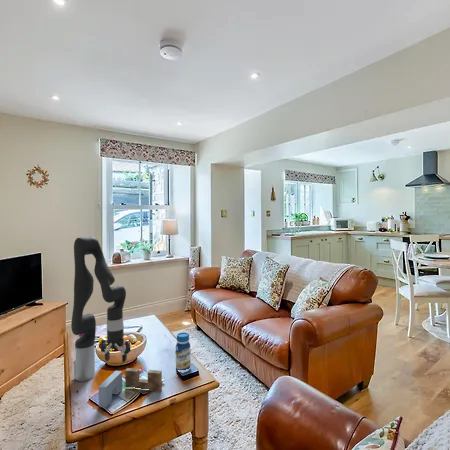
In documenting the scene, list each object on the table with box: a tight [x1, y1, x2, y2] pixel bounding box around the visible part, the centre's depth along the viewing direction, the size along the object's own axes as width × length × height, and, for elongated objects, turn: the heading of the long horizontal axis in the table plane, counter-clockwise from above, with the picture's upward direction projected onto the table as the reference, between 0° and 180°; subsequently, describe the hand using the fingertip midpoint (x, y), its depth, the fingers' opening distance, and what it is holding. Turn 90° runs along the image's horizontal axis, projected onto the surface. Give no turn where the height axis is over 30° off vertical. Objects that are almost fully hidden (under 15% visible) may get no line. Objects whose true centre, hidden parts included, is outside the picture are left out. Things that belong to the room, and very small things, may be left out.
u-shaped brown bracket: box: [124, 367, 163, 393], centre depth 142 cm, size 18×2×9 cm, turn 81°
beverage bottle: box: [175, 331, 192, 371], centre depth 159 cm, size 8×8×20 cm
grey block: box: [98, 370, 123, 408], centre depth 135 cm, size 4×14×9 cm, turn 170°
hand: (115, 361), depth 139 cm, fingers open, 8 cm apart
